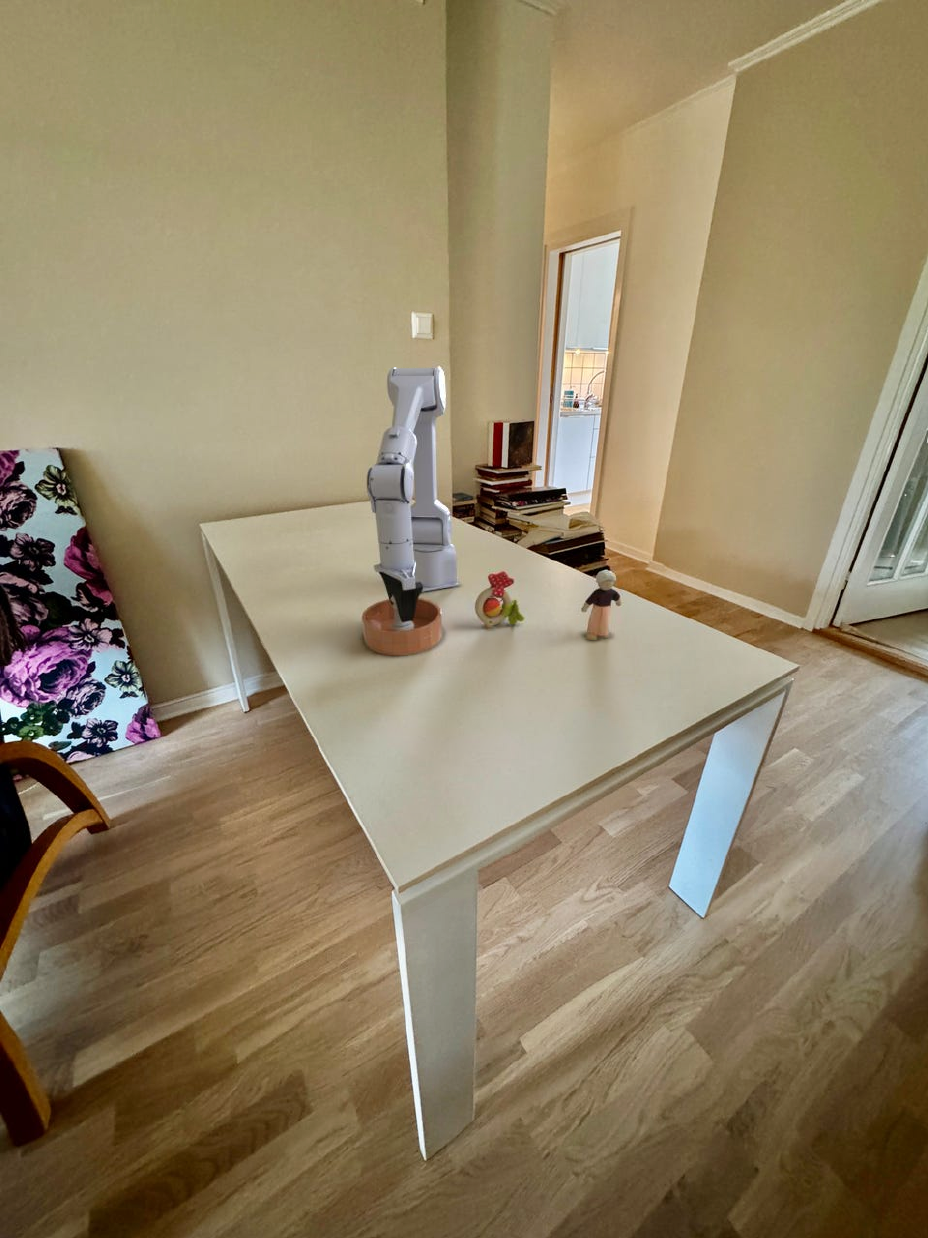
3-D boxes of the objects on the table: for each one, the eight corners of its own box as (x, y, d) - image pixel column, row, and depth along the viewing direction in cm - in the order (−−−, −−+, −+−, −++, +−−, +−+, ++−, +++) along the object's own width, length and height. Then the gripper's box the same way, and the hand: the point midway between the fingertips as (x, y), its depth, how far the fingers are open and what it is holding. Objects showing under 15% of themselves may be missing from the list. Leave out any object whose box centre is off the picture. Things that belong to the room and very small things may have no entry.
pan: (428, 612, 97) (427, 592, 95) (452, 645, 85) (452, 623, 83) (358, 625, 92) (355, 604, 90) (373, 662, 81) (370, 639, 78)
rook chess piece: (419, 631, 89) (417, 591, 85) (404, 641, 86) (401, 600, 82) (401, 625, 91) (397, 586, 87) (385, 635, 88) (381, 595, 84)
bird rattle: (496, 644, 89) (535, 617, 91) (474, 599, 83) (516, 571, 85) (481, 629, 94) (517, 604, 96) (459, 586, 88) (498, 560, 90)
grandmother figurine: (589, 644, 84) (597, 578, 79) (575, 635, 87) (582, 570, 82) (622, 634, 88) (632, 569, 82) (607, 625, 91) (616, 562, 85)
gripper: (363, 529, 85) (371, 599, 91) (381, 555, 73) (389, 633, 79) (401, 524, 87) (407, 593, 93) (425, 549, 75) (430, 625, 81)
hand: (401, 611), depth 86 cm, fingers open, 7 cm apart
